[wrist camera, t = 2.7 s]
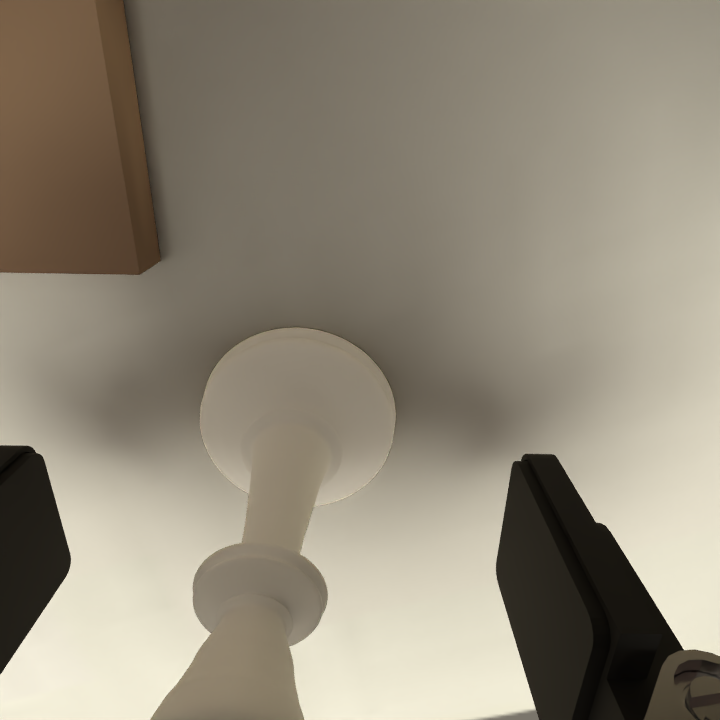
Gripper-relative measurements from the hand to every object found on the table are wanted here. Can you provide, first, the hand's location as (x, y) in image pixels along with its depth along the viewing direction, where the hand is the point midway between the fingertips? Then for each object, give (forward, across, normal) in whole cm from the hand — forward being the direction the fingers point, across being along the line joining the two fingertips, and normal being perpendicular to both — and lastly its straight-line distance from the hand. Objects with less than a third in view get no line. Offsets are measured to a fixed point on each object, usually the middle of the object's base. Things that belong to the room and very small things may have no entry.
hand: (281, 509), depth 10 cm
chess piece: (+4, 0, 0) cm, 4 cm away
